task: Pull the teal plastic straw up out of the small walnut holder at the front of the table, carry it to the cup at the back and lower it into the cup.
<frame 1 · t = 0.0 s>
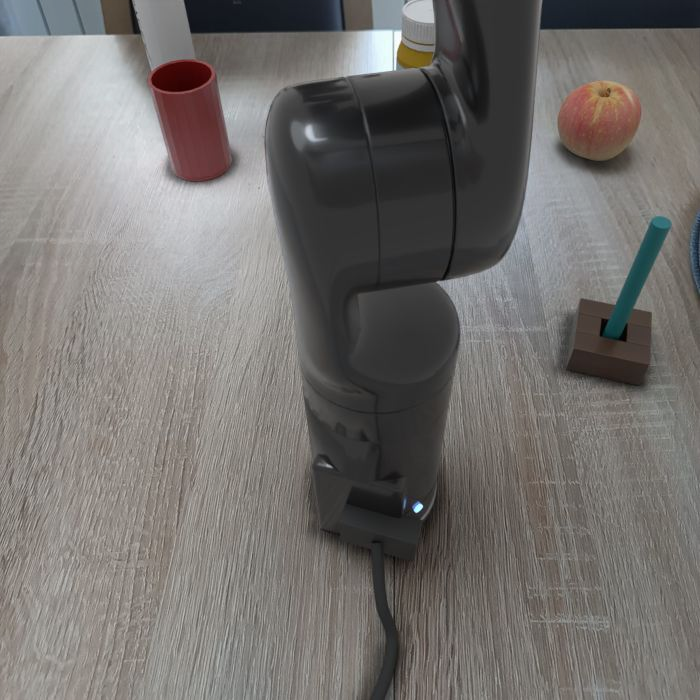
cup: (201, 163, 79), on the table
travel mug: (177, 80, 91), on the table
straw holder: (604, 351, 59), on the table
apple: (588, 152, 79), on the table
straw: (629, 293, 53), in the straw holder
bottle: (422, 135, 82), on the table
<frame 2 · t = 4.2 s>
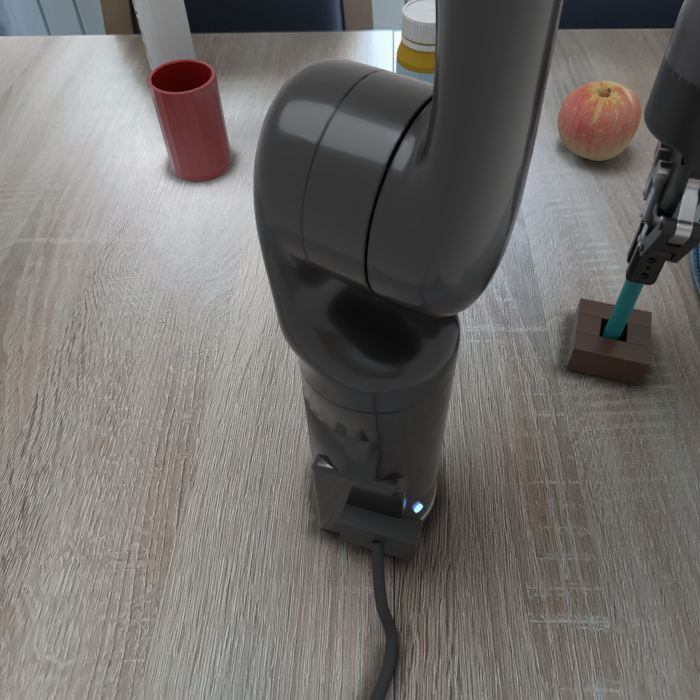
hand: (639, 271, 51), 10 cm above the table, tool pointing down, fingers closed on straw, 1 cm apart
straw: (629, 293, 53), in the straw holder, touching gripper
everything else where it was.
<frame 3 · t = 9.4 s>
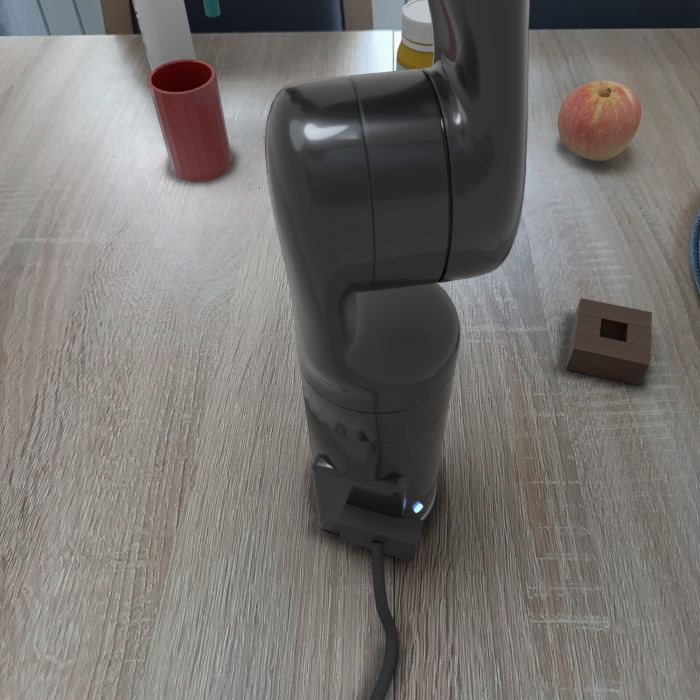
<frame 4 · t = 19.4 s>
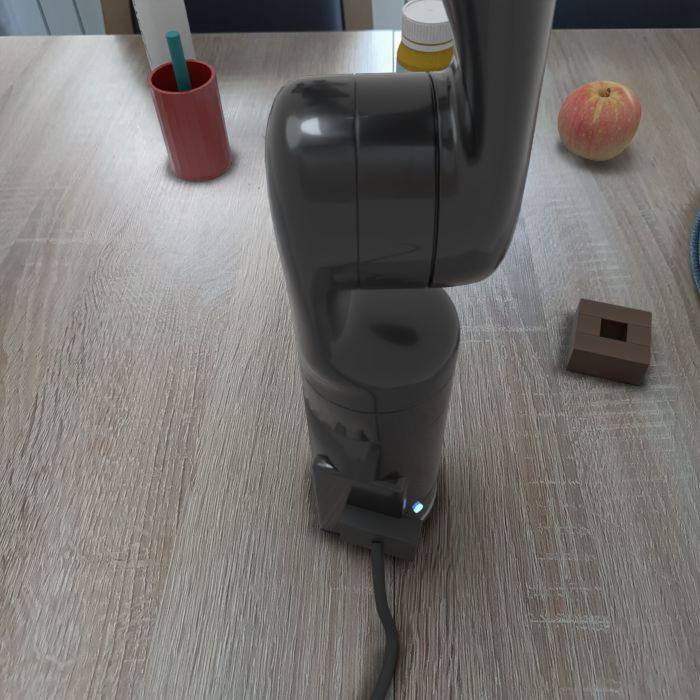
straw: (188, 101, 73), in the cup
everything else where it was.
at the end: straw 0.1 cm off-centre in the cup, point 8.0 cm above the cup's base; the gripper is holding nothing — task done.
